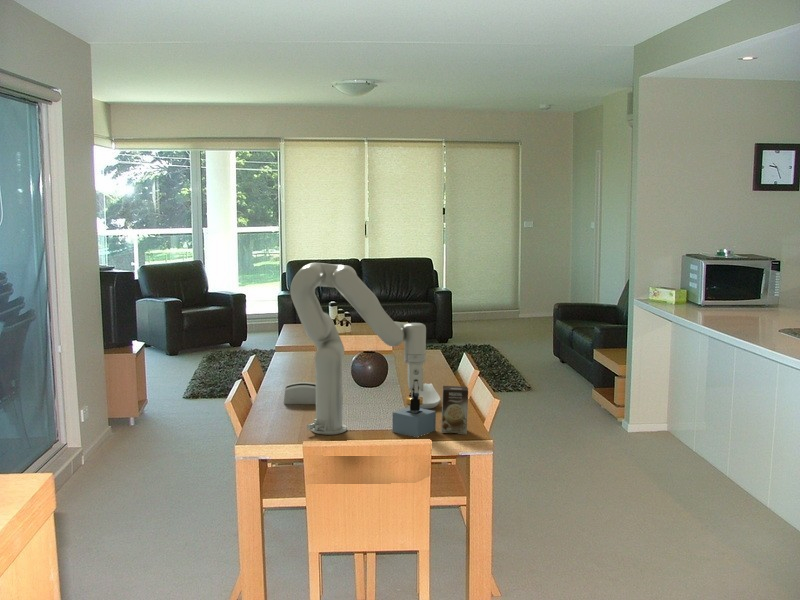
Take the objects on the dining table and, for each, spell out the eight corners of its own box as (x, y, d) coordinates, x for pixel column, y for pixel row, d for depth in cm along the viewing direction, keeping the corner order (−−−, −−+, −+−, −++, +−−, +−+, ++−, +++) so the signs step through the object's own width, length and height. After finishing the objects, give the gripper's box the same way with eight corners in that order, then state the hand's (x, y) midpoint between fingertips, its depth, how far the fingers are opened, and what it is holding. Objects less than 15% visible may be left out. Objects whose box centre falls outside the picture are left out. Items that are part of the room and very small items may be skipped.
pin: (421, 425, 273) (421, 400, 272) (404, 424, 274) (404, 399, 273) (423, 421, 278) (424, 396, 277) (407, 419, 280) (407, 395, 279)
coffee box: (441, 434, 274) (442, 389, 272) (441, 428, 280) (442, 385, 278) (467, 434, 273) (468, 390, 272) (466, 429, 280) (467, 385, 278)
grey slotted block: (325, 400, 318) (325, 380, 314) (325, 407, 314) (324, 386, 309) (284, 400, 318) (283, 380, 313) (283, 407, 313) (282, 386, 309)
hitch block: (417, 437, 269) (417, 417, 268) (392, 432, 276) (392, 412, 275) (435, 430, 278) (435, 411, 277) (410, 425, 284) (411, 406, 283)
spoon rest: (439, 412, 304) (440, 394, 303) (410, 411, 305) (410, 393, 304) (441, 397, 327) (442, 380, 326) (414, 396, 328) (414, 379, 327)
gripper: (428, 362, 265) (427, 414, 267) (423, 353, 282) (422, 401, 284) (406, 363, 265) (405, 414, 267) (402, 353, 282) (402, 401, 284)
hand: (414, 407), depth 275 cm, fingers closed on pin, 5 cm apart
